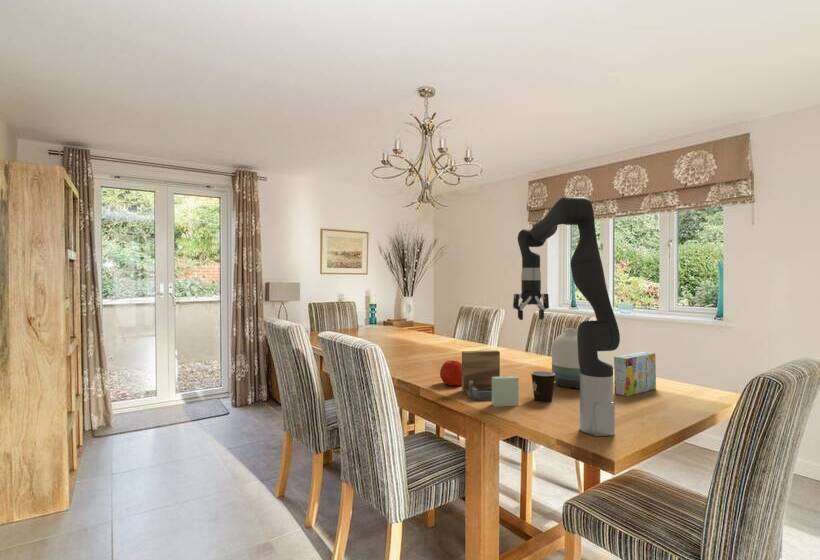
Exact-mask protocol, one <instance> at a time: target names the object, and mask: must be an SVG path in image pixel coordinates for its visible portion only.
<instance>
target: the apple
mask: <svg viewBox="0 0 820 560" xmlns="http://www.w3.org/2000/svg"><path fill="white" fill-rule="evenodd" d="M439 377H440V379H441V381H442V382H443V383H444V384H445V385H447V386H450V387H460V386H462V362H460V361H458V360H447V361H445V362H444V363H443V364H442V366H441V368H440V371H439Z"/></svg>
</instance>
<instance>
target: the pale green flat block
mask: <svg viewBox="0 0 820 560" xmlns="http://www.w3.org/2000/svg"><path fill="white" fill-rule="evenodd" d="M519 378H520V377H518V376H516V375H509V376H508V375H506V376H503V375H502V376H500V377H492V400H491V405H492V406H493V407H495V408H496V407H514V406H515V407H516V406H519V402H520V397H519V395H520V393H519V389H520V387H519V384H520V383H519Z"/></svg>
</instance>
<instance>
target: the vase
mask: <svg viewBox="0 0 820 560" xmlns="http://www.w3.org/2000/svg"><path fill="white" fill-rule="evenodd" d="M577 332H578V328H572V327H571V328H564V331H563V333H561V334H559V335H558V336H556V338H555V339H554V340H553V342H552V346H551V372H552V373H555V380H554V383H556V384H557V385H559V386H561V387H567V388H573V389H580V366H579V361H578V343H577Z"/></svg>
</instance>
